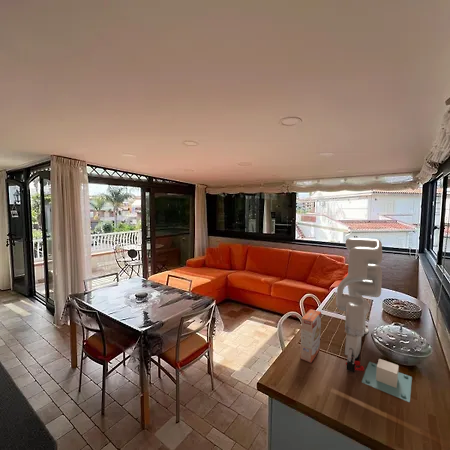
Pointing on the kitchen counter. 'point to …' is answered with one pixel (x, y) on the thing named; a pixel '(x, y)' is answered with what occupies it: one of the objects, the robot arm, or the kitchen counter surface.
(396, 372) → the base block
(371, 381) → the baseplate
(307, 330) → the cracker box
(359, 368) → the bracket
